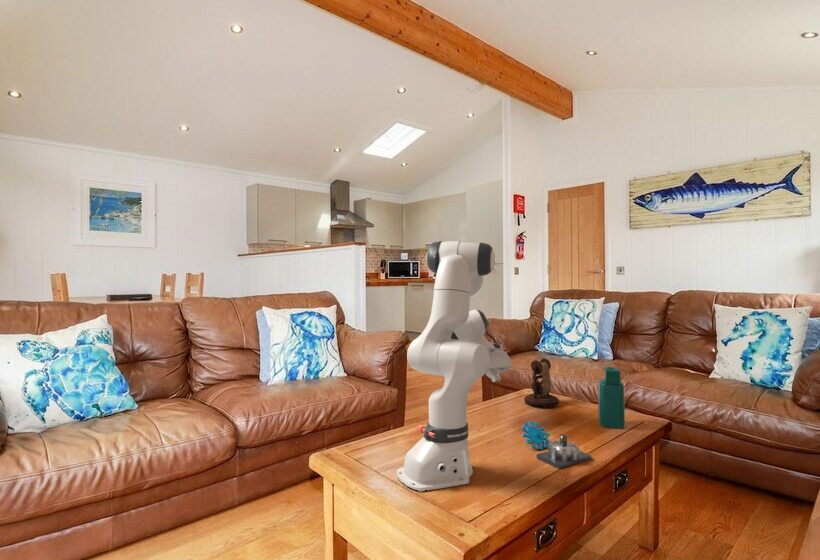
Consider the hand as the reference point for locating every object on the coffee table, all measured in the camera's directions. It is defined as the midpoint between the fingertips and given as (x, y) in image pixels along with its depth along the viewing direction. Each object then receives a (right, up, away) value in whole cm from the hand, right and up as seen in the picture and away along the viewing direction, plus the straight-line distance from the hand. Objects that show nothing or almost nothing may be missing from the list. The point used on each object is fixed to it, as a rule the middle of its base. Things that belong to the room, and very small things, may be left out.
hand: (497, 381), depth 166 cm
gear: (+10, -18, -17) cm, 27 cm away
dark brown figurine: (+26, -18, +31) cm, 44 cm away
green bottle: (+44, -17, +2) cm, 47 cm away
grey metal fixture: (+15, -18, -28) cm, 36 cm away
